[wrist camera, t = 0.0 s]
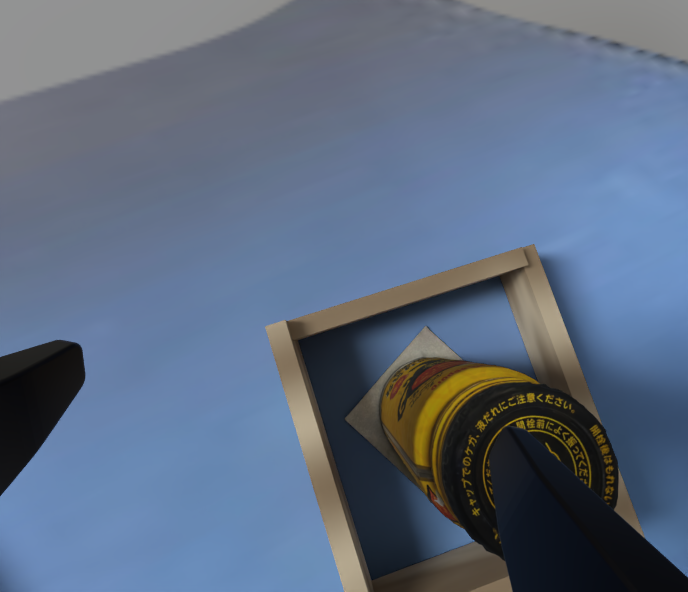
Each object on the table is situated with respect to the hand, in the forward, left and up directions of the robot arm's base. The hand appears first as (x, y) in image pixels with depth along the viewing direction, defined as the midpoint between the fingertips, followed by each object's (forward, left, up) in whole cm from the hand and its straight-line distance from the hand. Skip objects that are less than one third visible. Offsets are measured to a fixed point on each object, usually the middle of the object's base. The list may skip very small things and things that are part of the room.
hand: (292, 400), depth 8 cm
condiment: (-5, -6, -15) cm, 17 cm away
